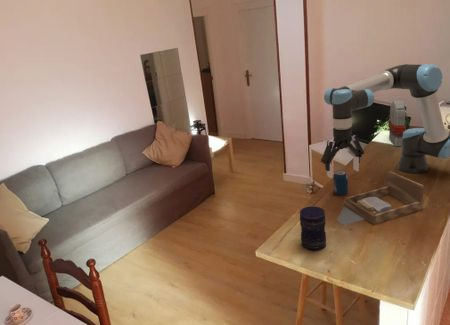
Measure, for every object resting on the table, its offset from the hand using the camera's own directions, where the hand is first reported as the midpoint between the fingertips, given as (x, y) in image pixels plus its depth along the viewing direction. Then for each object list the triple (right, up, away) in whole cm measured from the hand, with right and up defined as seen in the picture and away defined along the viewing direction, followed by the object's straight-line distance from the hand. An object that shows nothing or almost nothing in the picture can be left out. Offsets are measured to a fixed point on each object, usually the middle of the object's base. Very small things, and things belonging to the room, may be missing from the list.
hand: (342, 173), depth 151 cm
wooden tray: (+21, -16, +9) cm, 28 cm away
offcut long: (+12, -19, +6) cm, 23 cm away
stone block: (+23, -15, +9) cm, 29 cm away
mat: (+3, -19, +7) cm, 21 cm away
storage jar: (-16, -29, -12) cm, 35 cm away
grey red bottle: (+67, +18, +88) cm, 112 cm away
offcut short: (+12, -16, +5) cm, 21 cm away
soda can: (+8, -11, +27) cm, 31 cm away
